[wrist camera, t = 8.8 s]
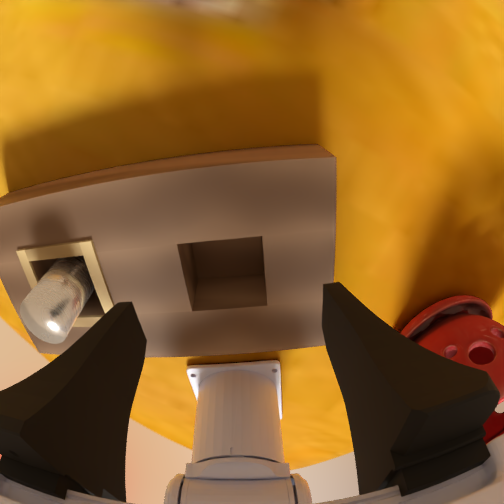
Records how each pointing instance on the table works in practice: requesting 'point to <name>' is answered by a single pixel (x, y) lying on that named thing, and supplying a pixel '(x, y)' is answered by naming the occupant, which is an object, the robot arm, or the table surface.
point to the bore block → (187, 247)
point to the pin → (57, 299)
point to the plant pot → (465, 342)
